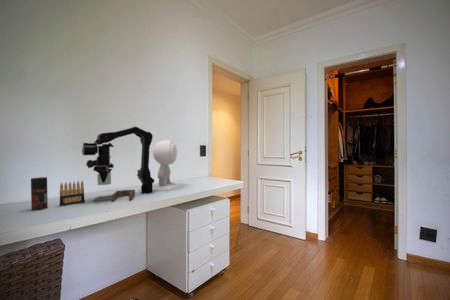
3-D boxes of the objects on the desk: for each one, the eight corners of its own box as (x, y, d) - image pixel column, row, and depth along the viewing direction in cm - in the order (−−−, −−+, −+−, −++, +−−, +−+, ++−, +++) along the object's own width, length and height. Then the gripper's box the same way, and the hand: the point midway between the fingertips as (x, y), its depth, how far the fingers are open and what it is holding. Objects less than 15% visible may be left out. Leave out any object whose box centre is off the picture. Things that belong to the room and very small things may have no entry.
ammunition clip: (59, 206, 107) (59, 182, 107) (59, 205, 109) (59, 182, 108) (84, 202, 114) (84, 180, 114) (84, 202, 116) (83, 180, 116)
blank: (111, 183, 125) (110, 173, 124) (109, 184, 121) (109, 173, 121) (99, 183, 123) (99, 173, 123) (97, 185, 119) (97, 174, 119)
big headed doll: (176, 190, 144) (176, 139, 144) (143, 190, 145) (142, 139, 144) (183, 185, 164) (182, 140, 164) (153, 185, 165) (153, 140, 164)
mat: (114, 196, 128) (114, 195, 128) (111, 200, 119) (111, 198, 119) (98, 197, 125) (98, 196, 125) (93, 201, 116) (93, 200, 116)
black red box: (34, 207, 105) (33, 177, 105) (49, 206, 107) (48, 177, 107) (29, 211, 99) (28, 179, 99) (45, 209, 102) (44, 178, 102)
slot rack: (134, 195, 131) (134, 189, 131) (131, 200, 118) (131, 194, 118) (116, 196, 128) (116, 190, 128) (111, 202, 115) (111, 195, 115)
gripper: (93, 154, 128) (93, 180, 128) (82, 155, 110) (82, 185, 111) (113, 154, 131) (114, 179, 132) (106, 155, 114) (106, 184, 114)
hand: (104, 181), depth 122 cm, fingers closed on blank, 4 cm apart
